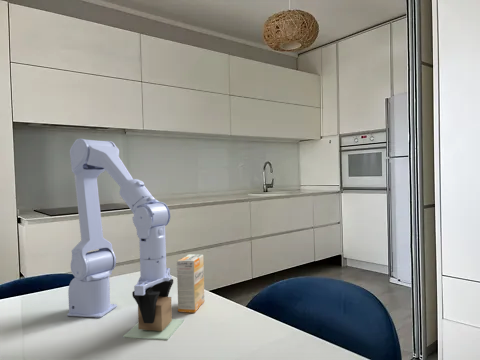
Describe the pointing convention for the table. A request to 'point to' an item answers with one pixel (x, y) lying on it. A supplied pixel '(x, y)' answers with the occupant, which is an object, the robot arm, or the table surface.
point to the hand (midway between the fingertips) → (154, 317)
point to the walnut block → (158, 315)
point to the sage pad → (153, 334)
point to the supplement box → (190, 282)
